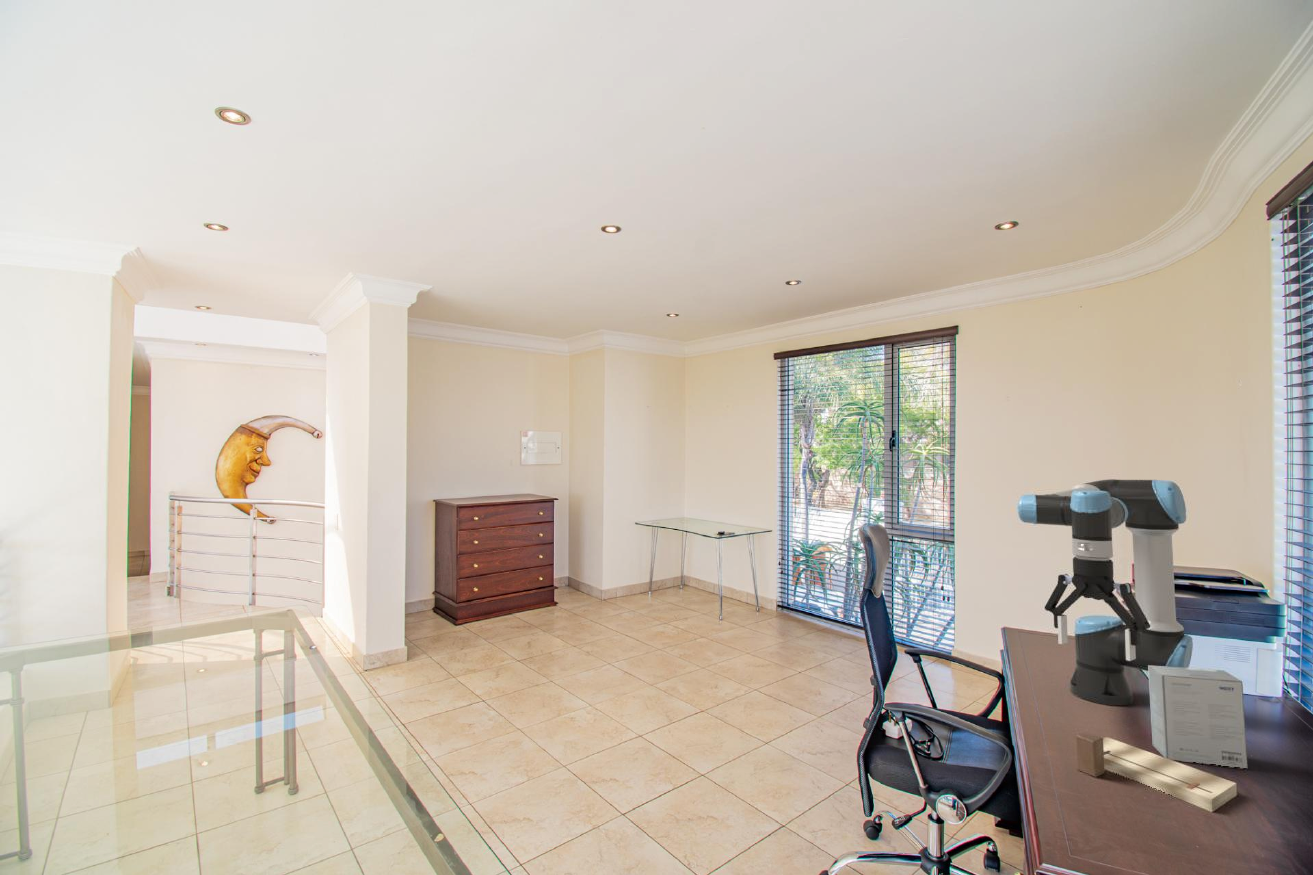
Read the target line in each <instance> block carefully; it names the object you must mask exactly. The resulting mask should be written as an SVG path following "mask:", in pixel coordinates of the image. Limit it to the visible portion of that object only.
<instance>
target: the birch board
mask: <svg viewBox="0 0 1313 875" xmlns="http://www.w3.org/2000/svg"><path fill="white" fill-rule="evenodd" d="M1102 738H1103V747H1104V770H1107V771H1108V772H1111V773H1113V772H1114V773H1113V774H1116V773H1117V775H1118V774H1119V776H1121V775H1122V777H1123V776H1124V778H1126V777H1127V778H1126V779H1128V778H1130V779H1129V780H1131V779H1133V780H1135V781H1134V782H1136V781H1138V782H1140V783H1139V784H1141V783H1142V784H1141V785H1143V784H1145V785H1144V786H1146V785H1147V786H1146V787H1148V786H1150V787H1149V788H1151V787H1152V788H1151V789H1153V788H1156V789H1157V790H1156V789H1155V790H1156V791H1158V790H1161V791H1162V792H1161V791H1160V792H1161V793H1163V792H1165V793H1164V794H1166V795H1168V794H1170V795H1169V796H1171V795H1172V796H1171V797H1174V798H1176V799H1179V800H1181V801H1183V802H1187V804H1188V803H1189V804H1191V805H1193V806H1195V807H1198V808H1200V809H1203V810H1206V811H1207V812H1208V811H1209V812H1211V813H1213V812H1214V811H1216V810H1217V809H1219V808H1220V807H1222V806H1224V805H1225V804H1226V803H1228V802H1229V801H1231V800H1232V799H1234V798H1235V797H1236V796H1238V793H1237V791H1238V790H1237V782H1234V781H1232V780H1231V781H1230V780H1228V779H1226V778H1223V777H1220V776H1218V775H1215V774H1212V773H1209V772H1206V771H1202V770H1200V769H1198V768H1194V767H1192V766H1189V765H1186V764H1185V763H1184V764H1183V763H1180V762H1179V761H1176V760H1170V759H1167V758H1165V757H1164V756H1161V755H1158V754H1155V753H1153V752H1150V751H1147V750H1144V749H1141V748H1138V747H1136V746H1134V745H1131V744H1128V743H1125V742H1122V741H1119V740H1116V739H1114V738H1111V737H1108V736H1106V737H1102ZM1133 780H1132V781H1133ZM1138 782H1137V783H1138Z"/></svg>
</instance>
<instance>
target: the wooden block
mask: <svg viewBox="0 0 1313 875" xmlns="http://www.w3.org/2000/svg"><path fill="white" fill-rule="evenodd" d="M1103 738H1104V737H1101V736H1098V735H1095V734H1093V733H1090V732H1087V731H1082V732H1080V733H1078V734H1076V735H1075V746H1076V747H1075V749H1076V751H1075V752H1076V769H1077V771H1078V772H1079V771H1080V772H1081V771H1082V773H1084V774H1086V775H1089V776H1091V775H1092V776H1091V777H1093V776H1094V777H1093V778H1097V777H1099V776H1101V775H1104V774H1105V769H1104V747H1103Z"/></svg>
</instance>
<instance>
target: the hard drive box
mask: <svg viewBox="0 0 1313 875" xmlns="http://www.w3.org/2000/svg"><path fill="white" fill-rule="evenodd" d="M1147 672H1148V685H1149V686H1148V687H1149V689H1148V690H1149V704H1150V705H1149V707H1150V720H1151V722H1150V723H1151V734H1152V736H1151V738H1152V746H1153V747H1154V748H1155V749H1156V751H1158V753H1159V754H1160V755H1162V757H1164V758H1167V759H1170V760H1173V761H1176V762H1185V763H1193V762H1196V763H1195V764H1202V763H1203V764H1204V765H1210V764H1216V765H1215V766H1218V765H1221V766H1220V767H1223V766H1229V767H1228V768H1234V767H1240V768H1239V769H1243V768H1247V769H1248V758H1247V757H1248V756H1247V741H1246V721H1245V709H1244V708H1245V705H1244V686H1243V681H1242V680H1241V679H1239V678H1237V677H1235V676H1234V675H1232V674H1230V673H1229V672H1227V671H1226V670H1220V669H1219V670H1218V669H1206V668H1205V669H1204V668H1196V667H1195V668H1194V667H1193V668H1192V667H1189V668H1182V667H1167V666H1151V665H1148V671H1147ZM1203 764H1202V765H1203Z"/></svg>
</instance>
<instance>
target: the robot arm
mask: <svg viewBox="0 0 1313 875" xmlns="http://www.w3.org/2000/svg"><path fill="white" fill-rule="evenodd" d="M1017 516H1018V517H1019V519H1020V521H1021V522H1023V523H1027V524H1033V525H1049V526H1050V525H1051V526H1053V525H1054V526H1066V527H1071V540H1072V541H1071V544H1072V555H1074V557H1073V558H1072V571H1073V575H1069V574H1067V573H1063V574H1059V575H1058V576H1057V577H1058V578H1057V584H1056V586H1055V588H1054V590H1053V591H1052V593H1051V595H1050V597H1049V598H1048V600H1047V602H1046V603H1045V605H1044V609H1045V611H1048V612H1050V613H1052V614H1053V627H1054V629H1057V637H1058V639H1057V640H1058V643H1057V644H1059V645H1065V644H1067V643H1069V642H1068V640H1069V639H1068V615H1067V614H1064V613H1065V612H1066V611H1067V610H1068V609H1069V608H1070V607H1071V606H1072V605H1073V604H1075V602H1077V601H1078V600H1079V599H1080V598H1082V597H1083V598H1085V599H1093V600H1097V601H1101V600H1102V601H1104V603H1105V604H1107V605H1108V606H1109V607H1110V608H1111V609H1112V611H1113V612H1114V613H1115V614H1116V615H1117V616H1113V615H1085V616H1080V617H1079V618H1077V619H1076V620H1075V623H1074V632H1073V633H1074V644H1075V645H1074V647H1075V668H1074V671H1073V673H1072V676H1071V678H1070V680H1069V690H1070V692H1071V693H1072V694H1073V693H1074V694H1075V696H1076V695H1077V696H1076V697H1078V698H1080V697H1081V698H1080V699H1083V700H1085V699H1086V701H1089V702H1092V701H1093V702H1092V703H1097V704H1100V705H1101V704H1103V705H1108V706H1128V705H1131V704H1133V703H1134V694H1133V691H1132V689H1131V686H1130V683H1129V680H1128V679H1127V677H1126V674H1125V667H1128V668H1132V669H1136V670H1137V669H1138V670H1142V671H1146V672H1148V665H1151V666H1167V667H1182V668H1190V664H1191V660H1192V655H1193V648H1194V646H1193V644H1194V643H1193V638H1192V636H1190V635H1188V634H1185V629H1184V626H1183V625H1182V624H1181V623H1180V622H1178V621H1177V612H1176V598H1175V597H1176V594H1175V592H1176V591H1175V576H1174V575H1175V574H1174V555H1173V554H1174V550H1173V535H1174V534H1175V533H1176V532H1178V531H1179V528H1180V527H1179V526H1180V525H1181V524H1184V523H1185V522H1186V521H1187V509H1186V502H1185V498H1184V495H1183V493H1182V491H1181V488H1180V486H1179V485H1178V484H1177V483H1176V482H1174V481H1170V480H1162V479H1161V480H1160V479H1115V478H1114V479H1113V478H1111V479H1102V480H1101V479H1099V480H1095V481H1091V482H1086V483H1081V484H1077V485H1074V486H1072V488H1070V489H1069V490H1064V491H1063V490H1062V491H1058V492H1051V493H1047V494H1035V493H1033V494H1023V495H1021V496H1020V497H1019V499H1018V502H1017ZM1123 524H1125V526H1124V527H1125V529H1127V530H1128V531H1130V532H1131V533H1132V550H1133V551H1132V553H1133V572H1134V591H1135V592H1134V593H1135V596H1134V594H1133V591H1132V585H1131V584H1130V583H1129V582H1124V583H1116V582H1115V581H1114V561H1113V560H1112V558H1113V557H1114V554H1113V552H1114V550H1113V548H1114V547H1113V531H1112V530H1113V529H1115V528H1117V527H1120V526H1121V525H1123ZM1179 524H1180V525H1179ZM1070 584H1073V586H1074V587H1075V588H1074V590H1072V591H1071V592H1070V594H1069V595H1068V596H1067V597H1066V598H1065V599H1064V600H1063V601H1061V602H1060V600H1061V598H1062V597H1063V595H1064V593H1065V591H1066V589H1067V588H1068V586H1069V585H1070ZM1115 589H1116V591H1117V592H1118V594H1120V595H1121V598H1122V600H1123V602H1124V604H1125V605H1126V607H1127V609H1128V610H1127V609H1126V608H1125V607H1124V605H1123V604H1122V603H1121V602H1120V601H1119V599H1118V597H1117V596H1116V595H1115V593H1114V591H1115ZM1059 602H1060V603H1059ZM1057 605H1058V606H1057ZM1074 694H1073V695H1074Z"/></svg>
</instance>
